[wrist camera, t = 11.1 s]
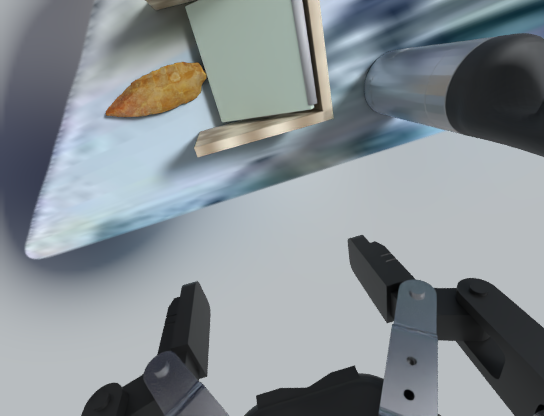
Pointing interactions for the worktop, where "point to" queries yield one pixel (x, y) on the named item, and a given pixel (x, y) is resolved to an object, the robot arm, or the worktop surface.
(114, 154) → the worktop surface
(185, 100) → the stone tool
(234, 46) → the trapdoor
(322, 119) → the trapdoor frame
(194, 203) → the worktop surface
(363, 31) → the worktop surface
